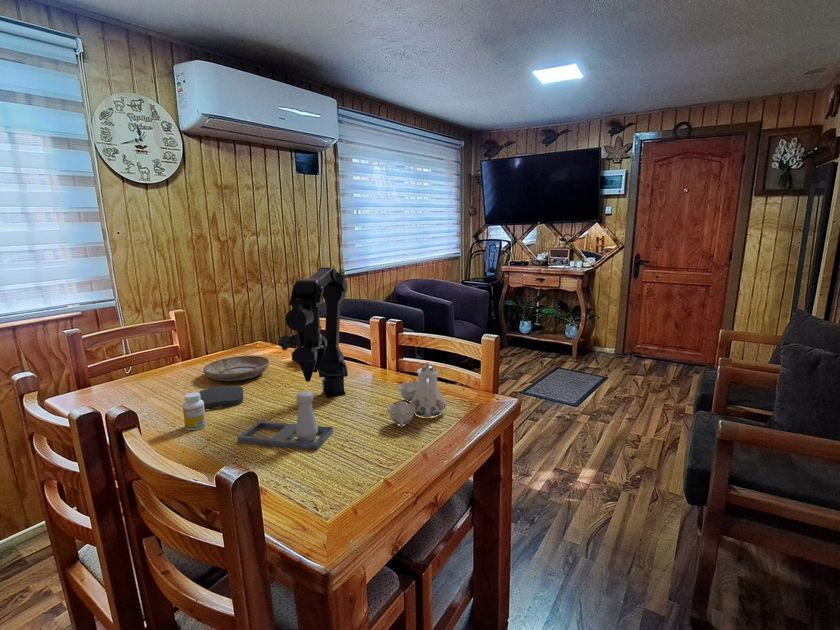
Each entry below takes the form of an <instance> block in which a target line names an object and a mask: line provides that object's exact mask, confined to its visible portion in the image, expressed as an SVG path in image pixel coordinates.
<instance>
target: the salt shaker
mask: <svg viewBox="0 0 840 630" xmlns="http://www.w3.org/2000/svg"><path fill="white" fill-rule="evenodd" d="M295 398H296V402H297V404H298V410H297V418H296V424H297V425H296V437H297V439H298V441H304V442H313V441H314V440H315V439H316V437H317V435H318V434H319V433H318V427H317V426H318V423H317V420H316V419H317V418H316V416H315V413H314V408H313V405H312V402H313V401H314V393H312V392H311V391H308V390H307V391H306V390H305V391H300V392H298V393H297V394H296V397H295ZM315 441H316V440H315Z"/></svg>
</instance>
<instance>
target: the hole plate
mask: <svg viewBox="0 0 840 630" xmlns="http://www.w3.org/2000/svg"><path fill="white" fill-rule="evenodd" d="M296 425H297V423H288V422H277V421H268V420H267V421H265V420H263V421H262V420H258V421H257V422H256V423H254V424H253V425H252V426H250V427H249V428H248V429H246V430H244V432H243V433H241V434H240V435H239V436H237V437H236V438H237V443H240V444H248V445H259V446H270V447H278V448H279V447H280V448H289V449H299V450H308V451H309V450H310V451H318V450H319V449H320V448H321V447H322V445H324V443H325V442H326V441H327V440H328V439H329V438H330V437H331V435H332V434H333V433H334V427H332V426H320V425H317V427H318V433H317V434H321V435H320V436H319V437H318V438H317V439H316V440H315V441H314V442H313V441H311V442H304V441H300V440H295V439H294V438H295V437H297V435H296ZM261 429H271V430H279V431H278V432H277V433H276V434H274V436H273V437H262V436H261V437H260V436H253V435H254V434H256V433H257V432H258V431H259V430H261Z"/></svg>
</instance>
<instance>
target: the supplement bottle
mask: <svg viewBox="0 0 840 630" xmlns="http://www.w3.org/2000/svg"><path fill="white" fill-rule="evenodd" d="M199 392H200V391H198V392H197V391H196V392H189V393H186V394H185V395H184V401H185V402H183V403H182V411H183V413H182V414H183V420H184V421H183V422H184V428H185V430H186V431H190V430H193V431H198V430H201V429H203V428H205V427H206V426H207V421H206V412H205V411H206V410H205V408H204V402H203V400H201V399H200V398H201V396H200V393H199Z"/></svg>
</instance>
